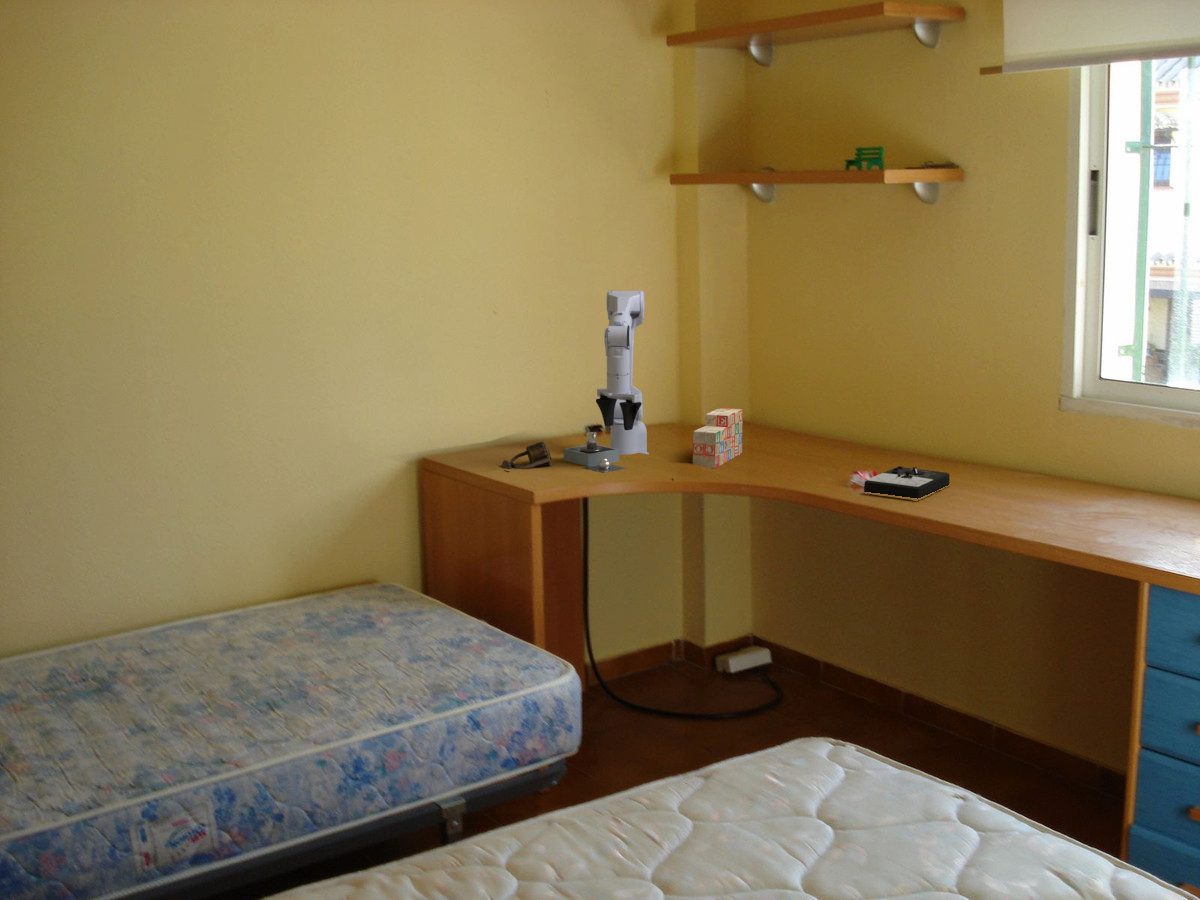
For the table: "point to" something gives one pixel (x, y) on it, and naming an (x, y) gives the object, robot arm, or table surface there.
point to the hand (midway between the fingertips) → (618, 427)
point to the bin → (590, 455)
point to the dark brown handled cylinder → (531, 457)
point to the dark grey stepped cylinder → (591, 444)
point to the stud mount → (604, 466)
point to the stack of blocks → (718, 438)
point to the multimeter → (907, 482)
